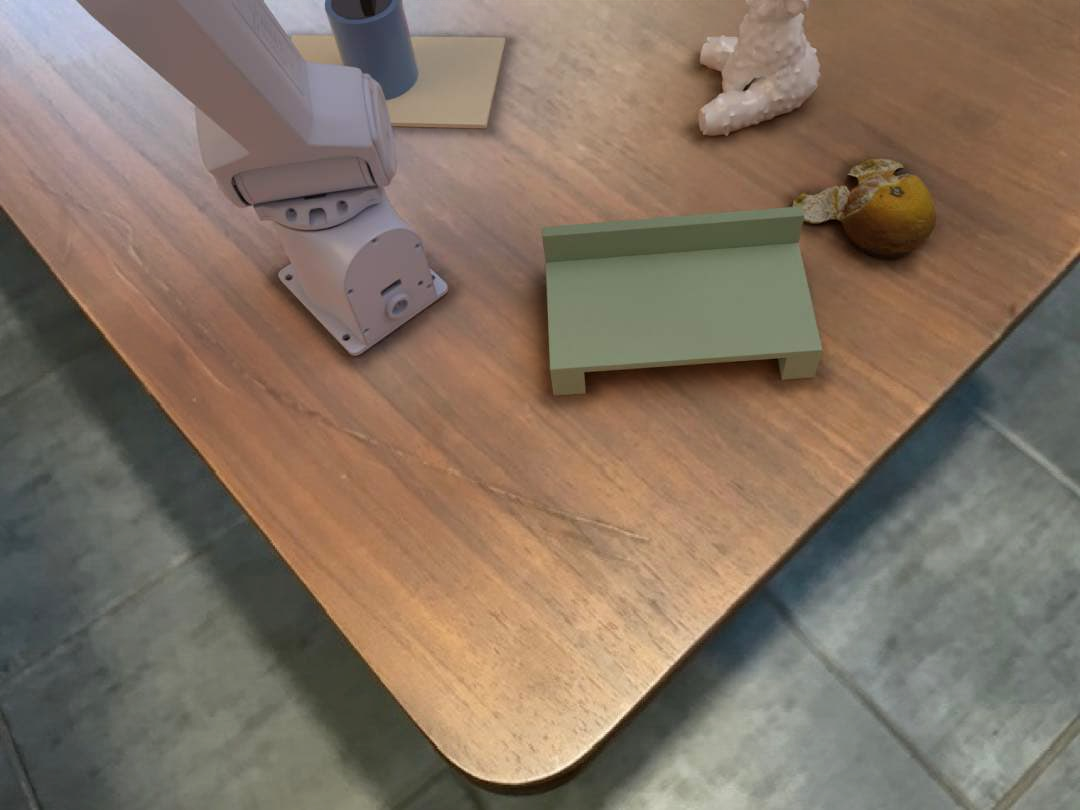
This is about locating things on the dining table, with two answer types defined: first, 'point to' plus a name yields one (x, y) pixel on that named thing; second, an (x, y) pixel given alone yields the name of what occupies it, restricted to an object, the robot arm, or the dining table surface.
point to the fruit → (877, 209)
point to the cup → (375, 43)
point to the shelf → (678, 294)
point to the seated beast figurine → (760, 67)
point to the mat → (434, 79)
